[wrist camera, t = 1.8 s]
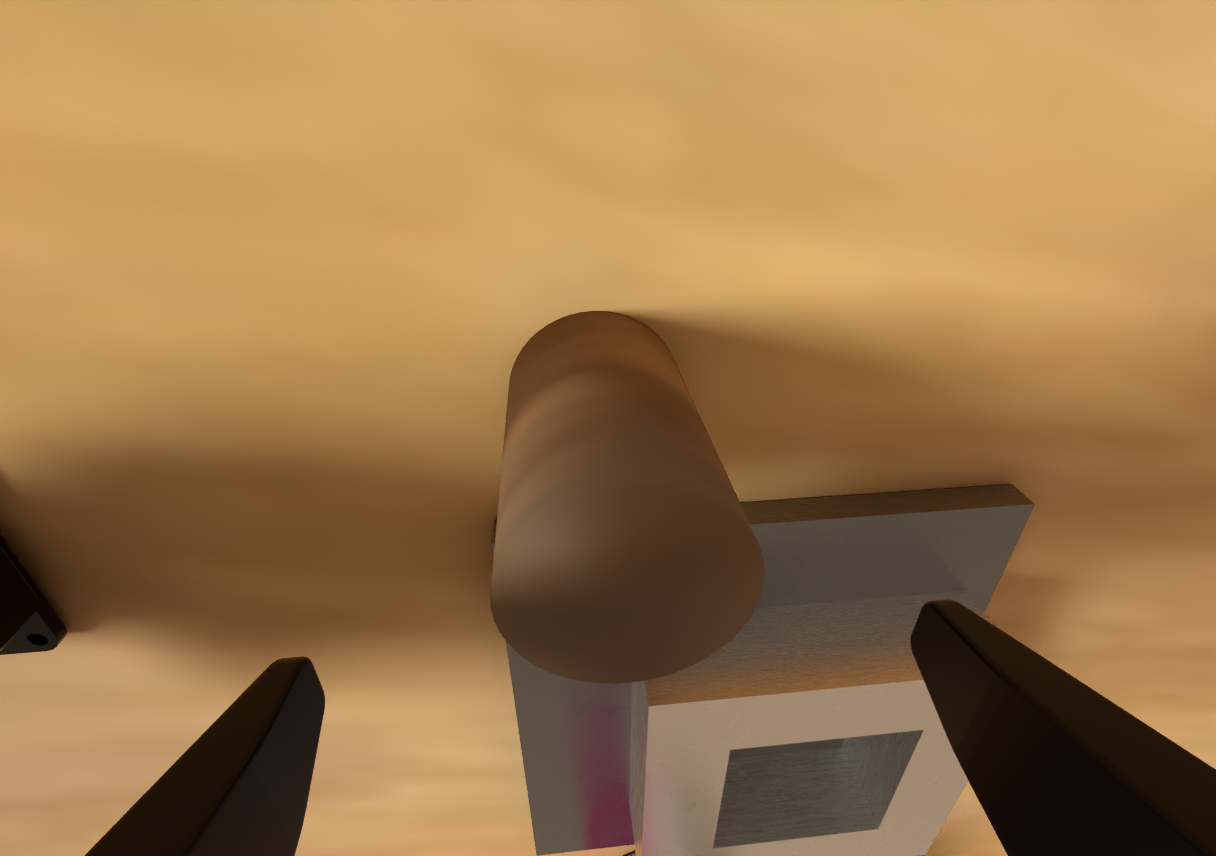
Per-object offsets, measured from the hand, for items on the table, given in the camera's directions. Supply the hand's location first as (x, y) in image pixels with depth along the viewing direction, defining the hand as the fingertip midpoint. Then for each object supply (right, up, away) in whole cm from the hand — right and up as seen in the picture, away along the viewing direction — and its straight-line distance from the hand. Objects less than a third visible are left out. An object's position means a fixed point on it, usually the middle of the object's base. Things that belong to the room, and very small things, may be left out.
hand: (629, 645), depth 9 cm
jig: (+4, -7, +14) cm, 16 cm away
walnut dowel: (-1, +4, +7) cm, 8 cm away
